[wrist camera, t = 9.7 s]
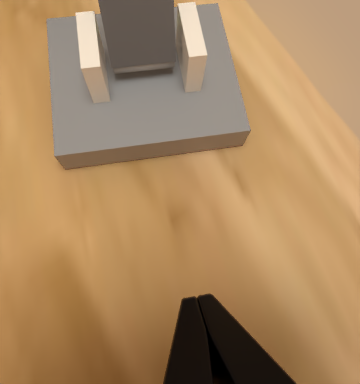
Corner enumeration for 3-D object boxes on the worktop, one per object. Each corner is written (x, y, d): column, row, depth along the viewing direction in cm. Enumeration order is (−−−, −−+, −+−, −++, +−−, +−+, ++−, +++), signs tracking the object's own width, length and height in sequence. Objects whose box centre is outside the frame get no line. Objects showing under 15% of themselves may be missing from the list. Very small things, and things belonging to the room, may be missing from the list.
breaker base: (242, 145, 26) (266, 100, 20) (65, 169, 24) (32, 129, 18) (213, 26, 29) (226, -43, 23) (56, 42, 28) (26, -27, 22)
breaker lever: (177, 73, 23) (170, -87, 17) (113, 80, 22) (81, -82, 16) (172, 59, 25) (164, -91, 18) (112, 66, 24) (84, -86, 18)
